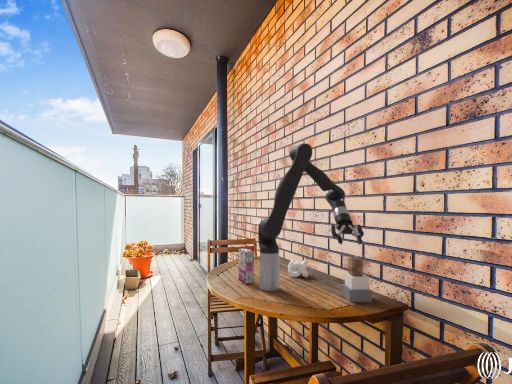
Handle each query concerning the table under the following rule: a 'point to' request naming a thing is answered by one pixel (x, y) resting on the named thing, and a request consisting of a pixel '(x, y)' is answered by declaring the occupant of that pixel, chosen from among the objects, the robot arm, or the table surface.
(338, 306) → the table surface
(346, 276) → the tower top block
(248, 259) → the candy bar box
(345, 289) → the tower base block
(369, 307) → the table surface
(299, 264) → the white knot sculpture
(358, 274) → the walnut block
